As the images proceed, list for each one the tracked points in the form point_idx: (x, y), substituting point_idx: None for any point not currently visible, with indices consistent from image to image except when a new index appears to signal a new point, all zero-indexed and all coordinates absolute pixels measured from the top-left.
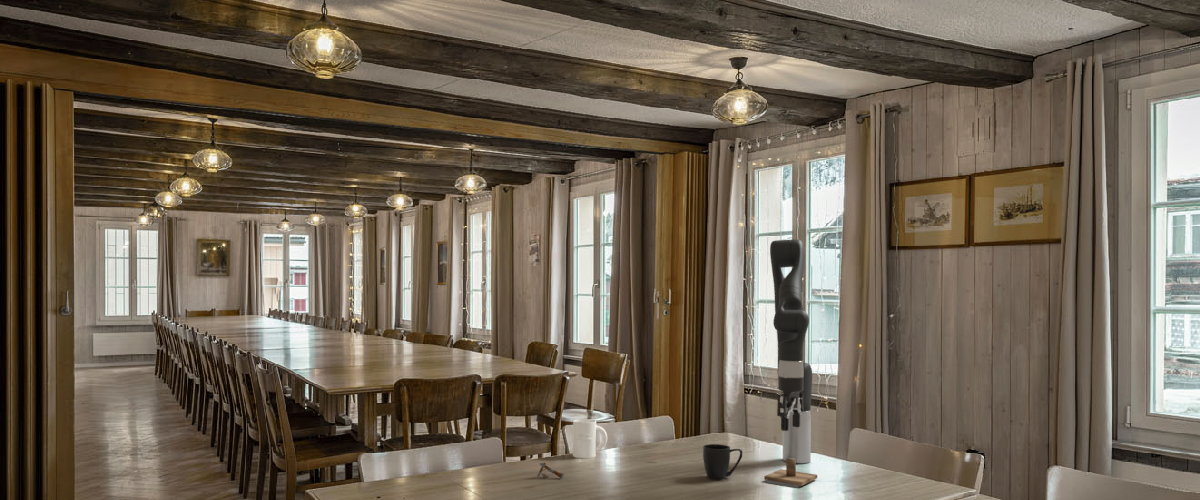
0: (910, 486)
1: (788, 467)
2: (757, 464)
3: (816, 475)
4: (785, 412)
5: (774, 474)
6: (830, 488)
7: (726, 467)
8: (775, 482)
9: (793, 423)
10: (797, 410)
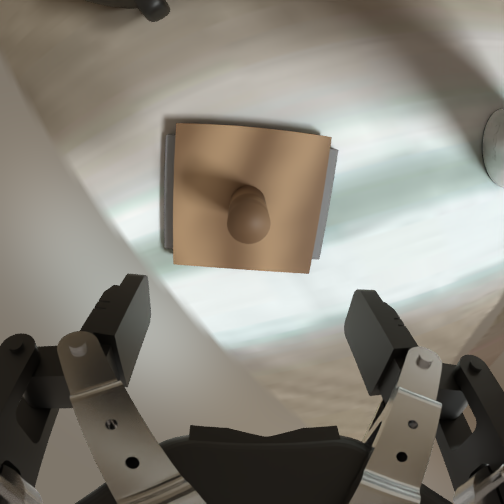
0: (337, 415)
1: (229, 207)
2: (423, 36)
3: (300, 272)
4: (35, 418)
5: (226, 144)
6: (222, 319)
7: (113, 5)
8: (165, 171)
9: (362, 306)
10: (370, 427)
